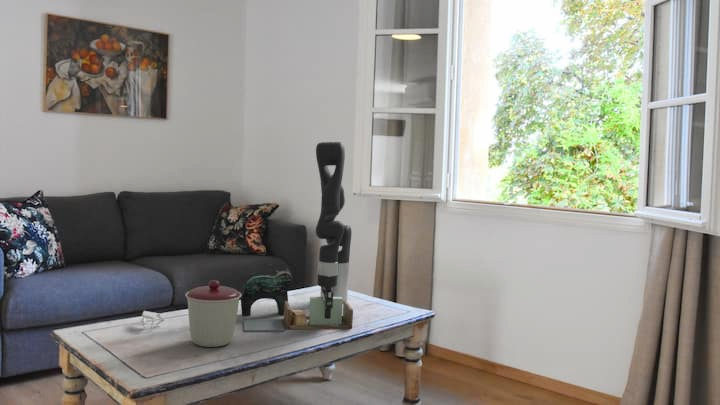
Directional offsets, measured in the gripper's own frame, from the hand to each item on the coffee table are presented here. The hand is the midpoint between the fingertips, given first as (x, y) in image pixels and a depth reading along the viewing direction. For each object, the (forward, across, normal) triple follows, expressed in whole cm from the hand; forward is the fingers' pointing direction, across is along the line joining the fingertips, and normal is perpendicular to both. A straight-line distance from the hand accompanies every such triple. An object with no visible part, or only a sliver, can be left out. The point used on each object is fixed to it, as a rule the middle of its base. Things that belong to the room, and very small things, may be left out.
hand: (325, 315), depth 243 cm
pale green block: (+3, 0, 0) cm, 3 cm away
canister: (+3, +22, -42) cm, 47 cm away
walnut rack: (+3, 0, -3) cm, 4 cm away
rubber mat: (+3, +3, -24) cm, 24 cm away
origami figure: (+4, +3, -63) cm, 63 cm away
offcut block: (+3, 0, -10) cm, 11 cm away
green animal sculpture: (+3, -13, -22) cm, 25 cm away
